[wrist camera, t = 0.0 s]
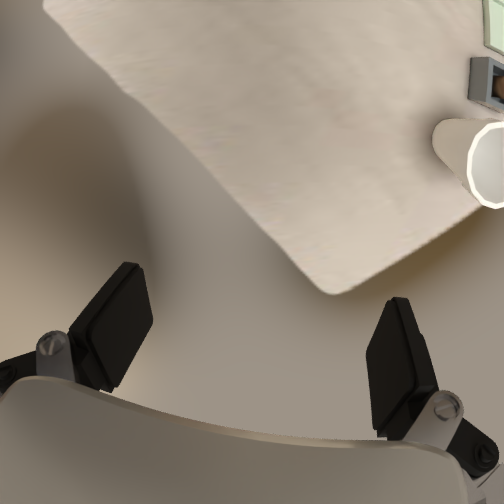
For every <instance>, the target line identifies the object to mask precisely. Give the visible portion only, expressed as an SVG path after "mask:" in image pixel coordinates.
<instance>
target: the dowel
mask: <svg viewBox="0 0 504 504" xmlns="http://www.w3.org/2000/svg"><path fill="white" fill-rule="evenodd" d="M491 97H495V98H501V99H504V76H496V75H493V80H492V92H491Z"/></svg>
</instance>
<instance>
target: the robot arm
mask: <svg viewBox="0 0 504 504" xmlns="http://www.w3.org/2000/svg"><path fill="white" fill-rule="evenodd" d="M152 324H153V315H152V311H151V306H150V302H149V297H148V292H147V287H146V282H145V277H144V271H143V269H142V268H140V266H139V264H137V263H132V262H124V263H122V265H121V266H120V267H119V268H118V269H117V270H116V271H115V272H114V274H113V275H112V276H111V277H110V278H109V279H108V281H107V282H106V283H105V284H104V285H103V287H102V288H101V289H100V290H99V291H98V293H97V294H96V295H95V296H94V298H93V299H92V300H91V301H90V302H89V304H88V305H87V306H86V307H85V309H84V310H83V311H82V312H81V314H80V315H79V316H78V317H77V319H76V320H75V321H74V323H73V324H72V325H71V326H70V328H69V332H68V333H67V334H66V333H64V332H62V331H57V330H56V331H50V332H48V333H46V334H44V335H43V336H42V337H41V338H40V339H39V341H38V343H37V344H36V350H35V351H32V352H29V353H26V354H23V355H20V356H17V357H14V358H11V359H8V360H5V361H3V362H1V363H0V504H504V464H503V463H501V464H499V463H498V460H499V450H498V447H497V445H496V443H495V442H494V441H493V440H492V439H490V438H489V437H488V436H486V435H485V434H484V433H482V432H481V431H480V430H479V429H477V428H476V427H474V426H473V425H472V424H471V423H469V422H468V421H467V420H465V419H464V418H463V413H464V409H463V408H464V407H463V404H462V402H461V400H460V399H459V397H458V396H457V395H455V394H454V393H452V392H450V391H446V390H440V391H439V387H438V384H437V380H436V376H435V373H434V369H433V365H432V362H431V359H430V355H429V352H428V349H427V346H426V342H425V339H424V337H423V335H422V334H421V333H420V331H419V328H418V325H417V322H416V319H415V317H414V314H413V311H412V308H411V305H410V303H409V300H408V299H407V298H401V297H393V298H392V299H391V300H388V301H387V302H386V304H385V307H384V310H383V312H382V315H381V317H380V319H379V322H378V324H377V327H376V329H375V331H374V334H373V336H372V338H371V341H370V343H369V345H368V347H367V350H366V361H367V370H368V379H369V388H370V399H371V410H372V424H373V429H374V430H377V437H387V441H383V440H337V439H318V438H305V437H293V436H284V435H276V434H268V433H261V432H254V431H247V430H241V429H235V428H229V427H224V426H220V425H214V424H210V423H205V422H201V421H196V420H192V419H188V418H184V417H180V416H176V415H172V414H168V413H164V412H161V411H158V410H154V409H151V408H147V407H144V406H141V405H138V404H135V403H131V402H128V401H125V400H123V399H119V398H117V397H114V396H111V395H108V394H105V393H102V392H99V390H100V389H101V390H103V391H106V392H109V393H112V391H113V389H114V388H115V387H118V386H119V385H120V383H121V381H122V379H123V377H124V375H125V373H126V372H127V370H128V368H129V366H130V364H131V362H132V360H133V359H134V357H135V355H136V353H137V351H138V350H139V348H140V346H141V344H142V342H143V341H144V339H145V337H146V335H147V333H148V332H149V330H150V328H151V326H152Z"/></svg>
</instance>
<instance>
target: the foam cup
mask: <svg viewBox="0 0 504 504" xmlns="http://www.w3.org/2000/svg"><path fill="white" fill-rule="evenodd" d="M432 146H433V148H434V150H435V153H436V154H437V156H438V157H439V158H440V159H441V160H442V161H443V162H444V163H445V164H446V165H447V166H448V167H449V168H450V169H451V171H452V172H453V173H454V174H455V175H456V176H457V177H458V178H459V180H460V181H461V183H462V185H463V187H464V188H465V189H466V190H467V191H468V192H469V193H470V194H471V195H472V197H474V198H475V199H476V200H477V201H478V202H480V203H481V204H482V205H484V206H488V207H490V208H494V209H497V208H501V207H504V122H503V121H500V120H496V119H493V118H488V119H446V120H442V121H441V122H440V123H439V124H437V125H436V127H435V129H434V131H433V134H432Z"/></svg>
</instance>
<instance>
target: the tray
mask: <svg viewBox="0 0 504 504" xmlns="http://www.w3.org/2000/svg"><path fill="white" fill-rule="evenodd" d="M482 1H483V15H484V46H486V47H488V48H490V49H492V50H494V51H496V52H498V53H500V54H501V55H503V56H504V0H482Z"/></svg>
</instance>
